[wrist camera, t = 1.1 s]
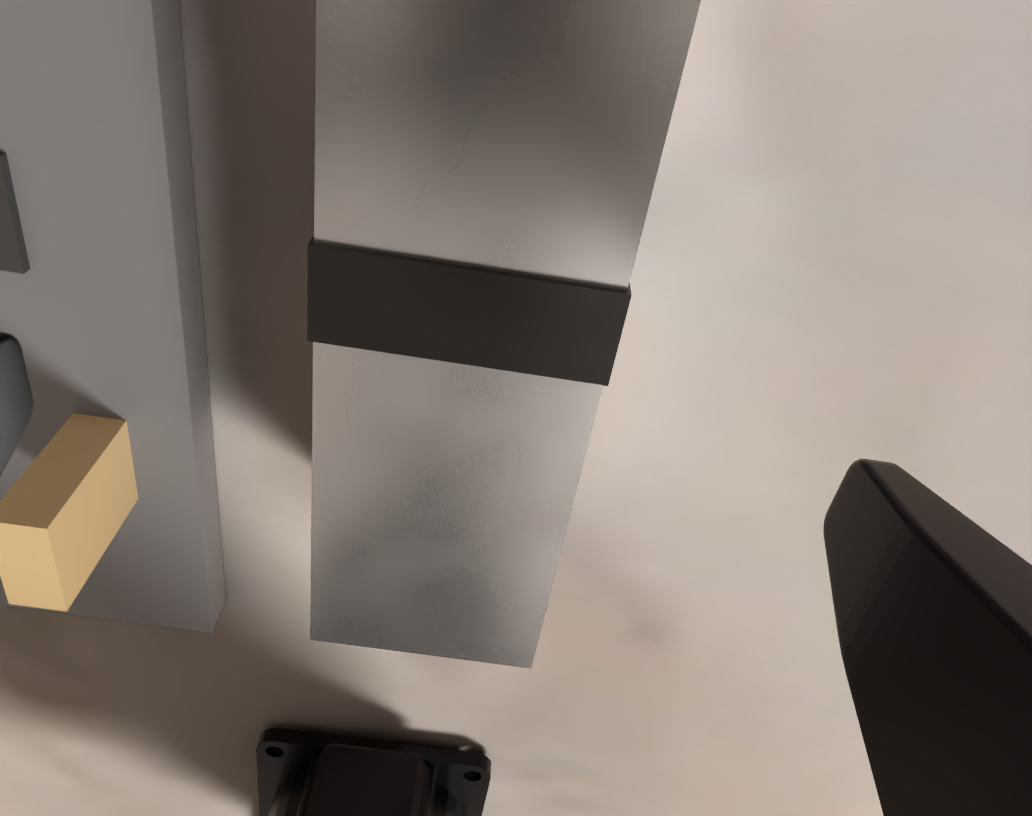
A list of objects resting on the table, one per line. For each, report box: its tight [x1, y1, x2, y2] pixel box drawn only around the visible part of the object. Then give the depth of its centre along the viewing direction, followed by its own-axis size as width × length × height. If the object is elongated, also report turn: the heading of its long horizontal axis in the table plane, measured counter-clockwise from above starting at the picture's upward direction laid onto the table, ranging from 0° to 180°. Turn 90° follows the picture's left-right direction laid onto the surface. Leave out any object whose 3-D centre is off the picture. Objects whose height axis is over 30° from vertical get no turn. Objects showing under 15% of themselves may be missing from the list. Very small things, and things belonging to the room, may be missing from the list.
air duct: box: [308, 0, 701, 668], centre depth 12 cm, size 14×4×4 cm, turn 171°
